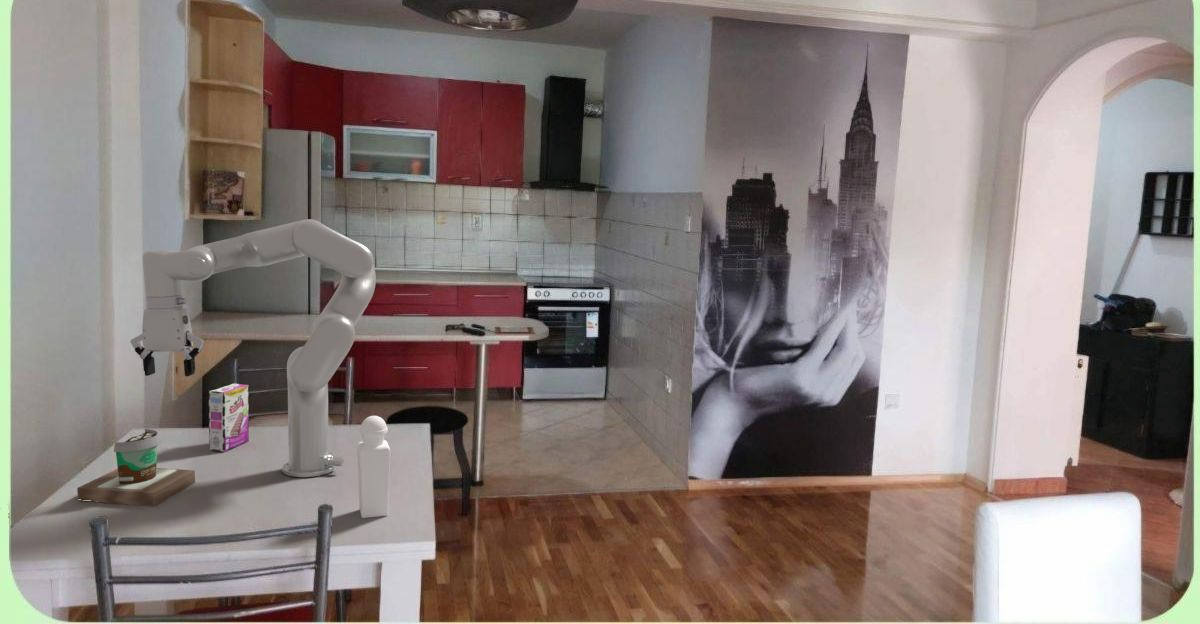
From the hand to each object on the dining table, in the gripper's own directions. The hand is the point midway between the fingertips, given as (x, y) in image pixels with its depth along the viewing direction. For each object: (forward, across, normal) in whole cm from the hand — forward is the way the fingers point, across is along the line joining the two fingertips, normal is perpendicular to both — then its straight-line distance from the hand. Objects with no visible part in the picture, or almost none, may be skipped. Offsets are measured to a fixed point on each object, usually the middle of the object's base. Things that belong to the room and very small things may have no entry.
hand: (169, 374), depth 202 cm
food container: (+23, +3, +8) cm, 24 cm away
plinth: (+26, +5, +8) cm, 27 cm away
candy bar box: (+27, +2, -29) cm, 39 cm away
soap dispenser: (+28, -52, +13) cm, 60 cm away
